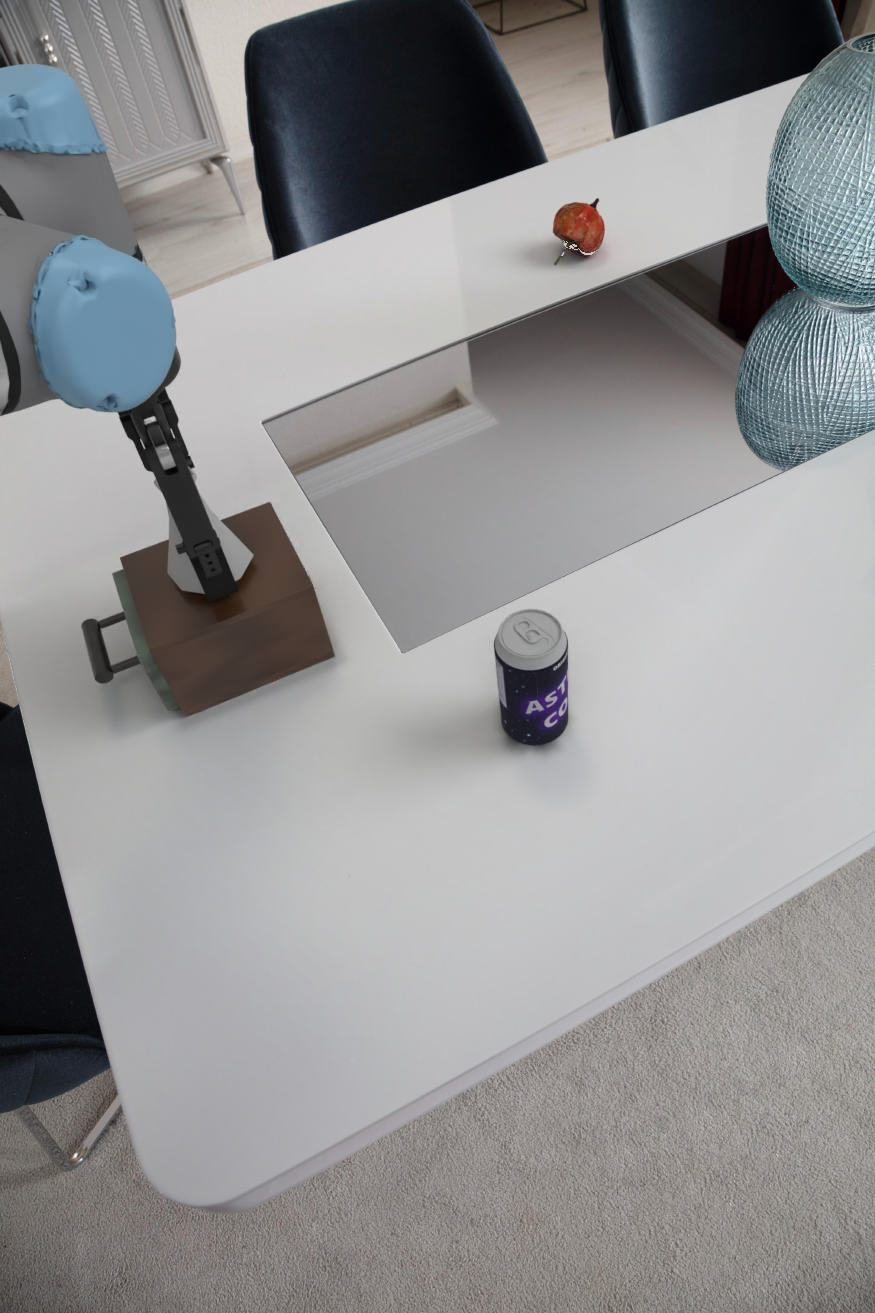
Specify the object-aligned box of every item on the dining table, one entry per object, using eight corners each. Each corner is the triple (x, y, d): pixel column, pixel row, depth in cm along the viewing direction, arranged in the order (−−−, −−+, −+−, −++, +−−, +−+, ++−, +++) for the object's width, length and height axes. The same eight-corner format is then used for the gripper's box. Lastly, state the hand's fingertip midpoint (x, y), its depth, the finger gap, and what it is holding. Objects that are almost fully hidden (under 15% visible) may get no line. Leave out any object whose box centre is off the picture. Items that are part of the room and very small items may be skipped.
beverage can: (527, 763, 77) (521, 673, 68) (489, 718, 80) (478, 627, 71) (582, 729, 78) (583, 637, 69) (542, 686, 82) (538, 593, 72)
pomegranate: (581, 287, 127) (631, 225, 124) (549, 254, 122) (600, 189, 119) (555, 270, 132) (602, 210, 129) (524, 238, 127) (572, 175, 125)
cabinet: (186, 717, 84) (149, 649, 77) (155, 626, 92) (119, 557, 84) (335, 656, 87) (313, 585, 79) (293, 572, 94) (270, 501, 87)
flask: (154, 578, 81) (110, 490, 73) (210, 528, 85) (174, 438, 77) (213, 607, 78) (174, 519, 70) (268, 554, 81) (237, 464, 74)
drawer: (121, 731, 83) (86, 677, 77) (98, 646, 90) (64, 590, 84) (308, 655, 86) (288, 598, 80) (271, 578, 93) (251, 520, 87)
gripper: (36, 282, 69) (144, 512, 87) (83, 423, 57) (198, 659, 74) (133, 252, 71) (220, 484, 88) (200, 383, 58) (286, 624, 76)
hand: (210, 564), depth 81 cm, fingers closed on flask, 7 cm apart
